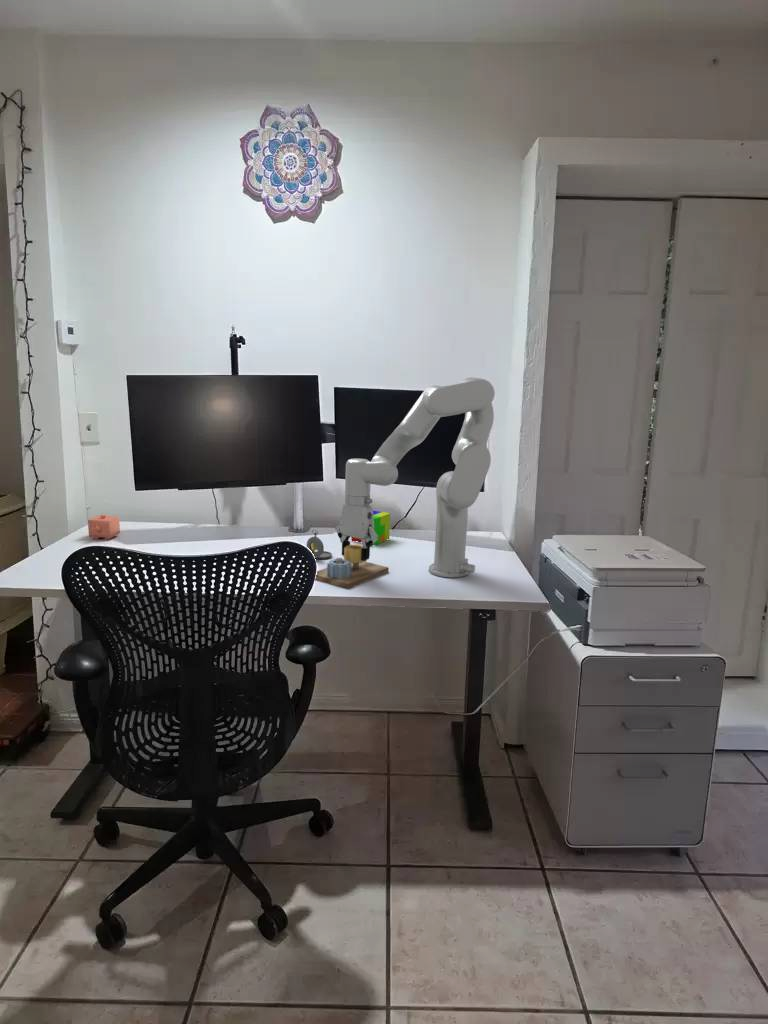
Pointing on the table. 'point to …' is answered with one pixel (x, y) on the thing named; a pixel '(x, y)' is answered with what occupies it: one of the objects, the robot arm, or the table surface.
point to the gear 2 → (353, 553)
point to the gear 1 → (339, 569)
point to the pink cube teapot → (103, 526)
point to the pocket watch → (317, 547)
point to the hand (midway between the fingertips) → (355, 556)
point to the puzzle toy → (379, 527)
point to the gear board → (353, 574)
